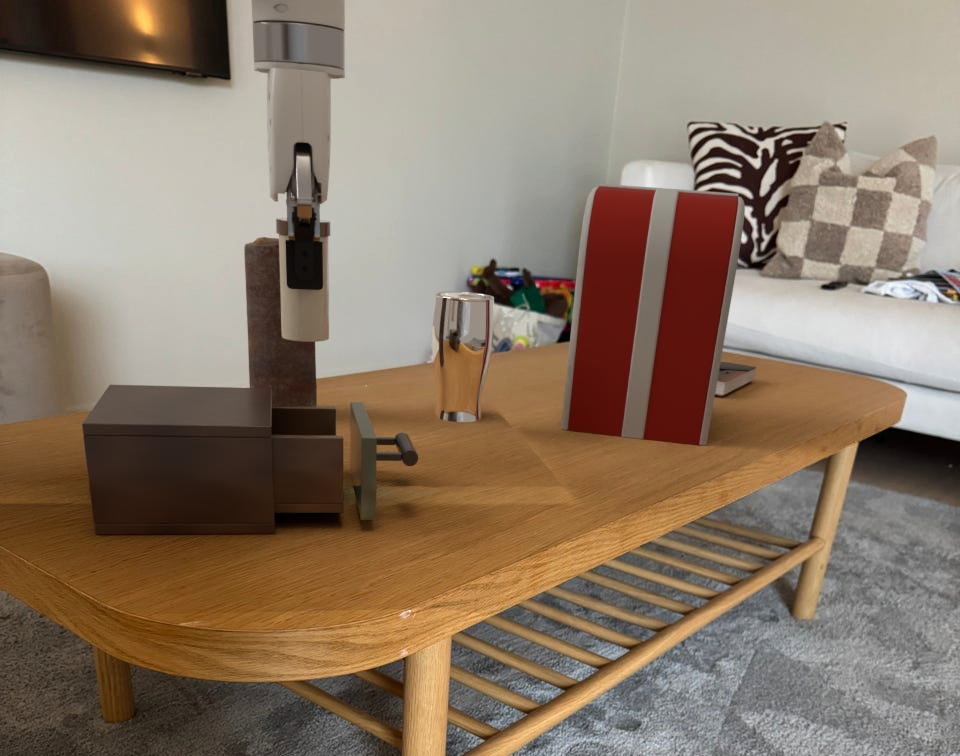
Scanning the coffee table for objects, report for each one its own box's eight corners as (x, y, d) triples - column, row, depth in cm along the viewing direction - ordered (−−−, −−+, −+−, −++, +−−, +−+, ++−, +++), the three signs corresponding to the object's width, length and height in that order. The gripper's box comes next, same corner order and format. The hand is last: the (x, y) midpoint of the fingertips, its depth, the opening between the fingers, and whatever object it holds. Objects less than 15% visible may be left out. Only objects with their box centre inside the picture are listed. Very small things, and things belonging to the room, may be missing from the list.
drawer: (403, 475, 91) (405, 403, 88) (421, 519, 80) (425, 438, 77) (225, 474, 88) (221, 399, 85) (218, 520, 77) (213, 435, 74)
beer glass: (418, 431, 111) (423, 294, 104) (442, 419, 117) (448, 289, 110) (473, 440, 109) (482, 301, 102) (495, 428, 114) (505, 295, 108)
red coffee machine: (575, 402, 130) (598, 183, 118) (706, 416, 128) (743, 193, 116) (559, 429, 116) (584, 182, 104) (707, 446, 113) (750, 195, 101)
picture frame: (753, 382, 152) (627, 362, 161) (756, 366, 151) (629, 347, 160) (722, 398, 139) (587, 375, 148) (725, 381, 138) (588, 359, 147)
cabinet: (274, 482, 90) (271, 388, 86) (274, 534, 78) (271, 426, 74) (119, 482, 87) (109, 384, 83) (95, 535, 75) (81, 423, 71)
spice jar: (279, 341, 88) (275, 220, 83) (279, 332, 92) (275, 216, 87) (332, 343, 89) (331, 223, 84) (329, 334, 93) (328, 219, 88)
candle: (295, 439, 104) (291, 241, 95) (237, 429, 106) (227, 234, 97) (328, 424, 111) (327, 238, 102) (273, 415, 113) (267, 232, 104)
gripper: (255, 59, 87) (263, 273, 95) (251, 39, 72) (261, 296, 80) (338, 66, 88) (339, 276, 96) (351, 48, 73) (351, 299, 81)
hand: (304, 283), depth 88 cm, fingers closed on spice jar, 4 cm apart
